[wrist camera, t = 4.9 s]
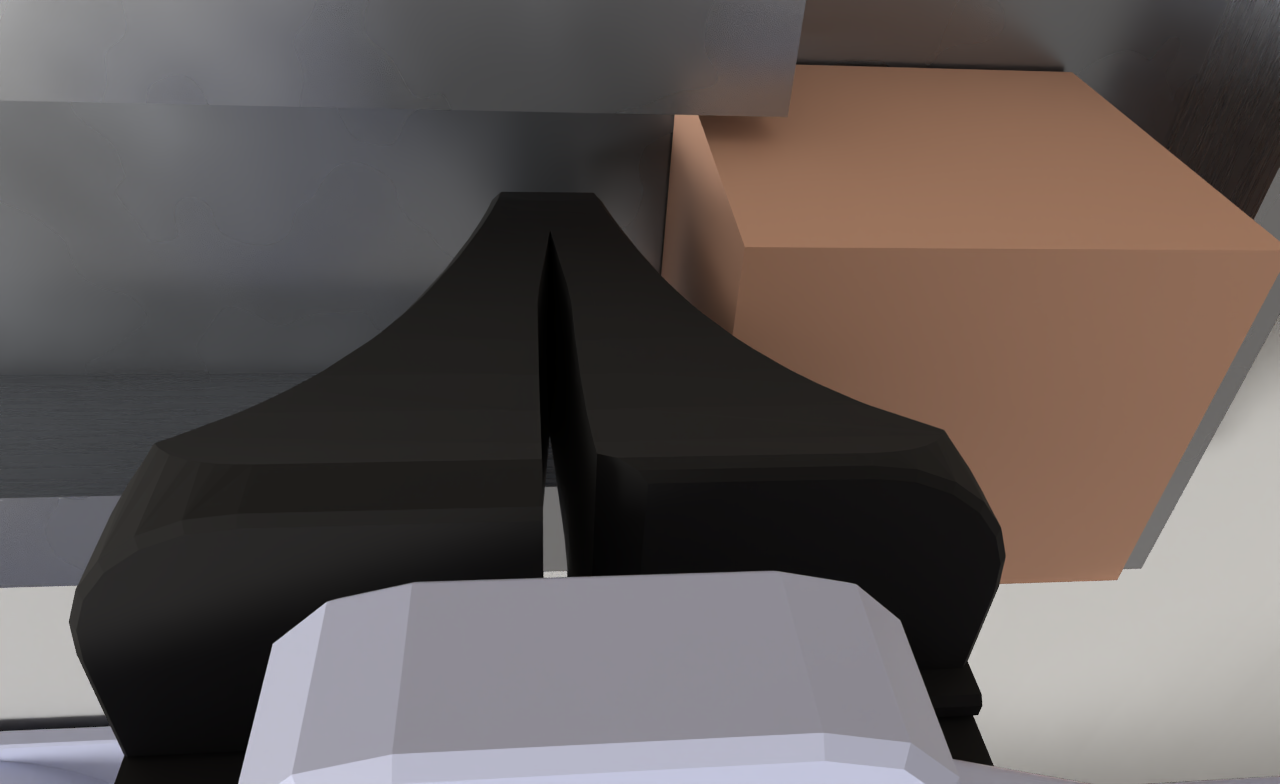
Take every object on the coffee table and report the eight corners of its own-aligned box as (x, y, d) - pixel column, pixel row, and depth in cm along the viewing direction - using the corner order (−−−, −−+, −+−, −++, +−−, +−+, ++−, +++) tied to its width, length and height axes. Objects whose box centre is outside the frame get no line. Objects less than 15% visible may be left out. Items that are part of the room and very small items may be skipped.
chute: (1060, 444, 18) (1157, 592, 15) (-259, 466, 16) (-428, 647, 13) (1326, -186, 12) (1567, -127, 9) (-778, -309, 9) (-1315, -283, 7)
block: (977, 356, 15) (1116, 580, 12) (654, 358, 14) (696, 594, 11) (1072, 71, 12) (1290, 250, 9) (679, 62, 12) (745, 246, 8)
